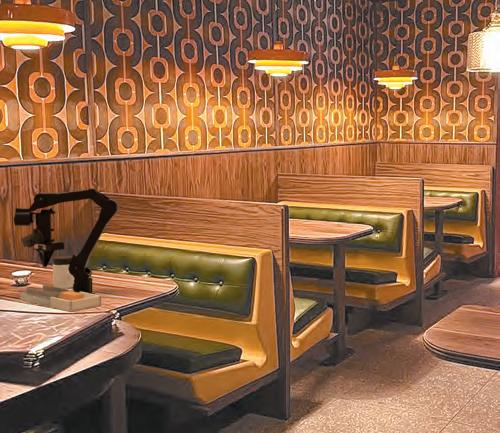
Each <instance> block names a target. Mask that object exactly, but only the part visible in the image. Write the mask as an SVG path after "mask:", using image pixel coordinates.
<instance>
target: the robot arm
mask: <svg viewBox="0 0 500 433" xmlns="http://www.w3.org/2000/svg"><path fill="white" fill-rule="evenodd" d="M83 200H91V201H92V202H93V203H95V204H96V205H97V206H98V207H99V208H101V209H100V210H99V214H98V219H97V221H96V223H95V225H94V226H93V227H92V230H91V232H90V234H89V236H87V237H88V238H87V239H86V241H85V243H84V245H83V247H82V248H81V250H80V252H79V253H78V252H75V253H74V254H73V255H72V259H71V261H70V262H69V263H68V264H70V265H69V267H68V270H69V273H70V274H71V275H72V276H73V277H74V284H73V287H72V288H73V289H72V291H75V292H78V293H79V292H85V293H90V294H95V295H96V292H94V291H93V278H92V277H91V276H92V275H93V271H92V270H91V269H90V268H89V267H88V264H89V261H90V257H91V254H92V252H93V250H94V248H95V247H96V245H97V243H98V242H99V239H100V238H101V237H102V235H103V232H104V231H105V229H106V226H107V225H108V223H109V222H110V221H111V220H112V219H113V218H114V216H115V215H116V214H117V213H118V212H119V209H120V204H119V202H118V201H117V199H114V198H109V197H108V196H106V194H103V192H101V191H99V190H98V189H97V188H95V187H91V188H87V189H79V190H72V191H67V192H66V191H64V192H50V191H48V192H47V191H43V192H40V193H37V194H35V196H34V198H33V202H32V204H31V205H30V206H29V208H27V207H26V208H22V207H16V208H15V209H14V210H15V211H14V217H13V223H14V227H32V225H33V224H35V228H33V230H32V233H30V234H28V235H26V236H24V237H22V238H21V242H22V245H23V248H32V251H34V252H36V253H37V254H38V257H39V260H40V262H41V265H42V267H43V268H47V267H48V264H49V262H50V260H51V258H52V257H53V254H54V252H55V251H60V250H66V244H65V243H64V241H59V240H55V239H54V238H53V232H54V231H55V228H54V227H52V215H55V214H57V213H58V212H57V211H56V210H55V209H54V208H53V207H51V206H55V205H57V204H62V203H68V202H69V203H70V202H76V201H83ZM48 207H49V209H48ZM45 208H47V209H45ZM38 210H40V211H38ZM33 247H34V248H33Z"/></svg>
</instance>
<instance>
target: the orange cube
mask: <svg viewBox="0 0 500 433" xmlns="http://www.w3.org/2000/svg"><path fill="white" fill-rule="evenodd" d="M67 296H68V301H74V300H79V299H84V294H82V293H78V292H76V293H71V294H67Z"/></svg>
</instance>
